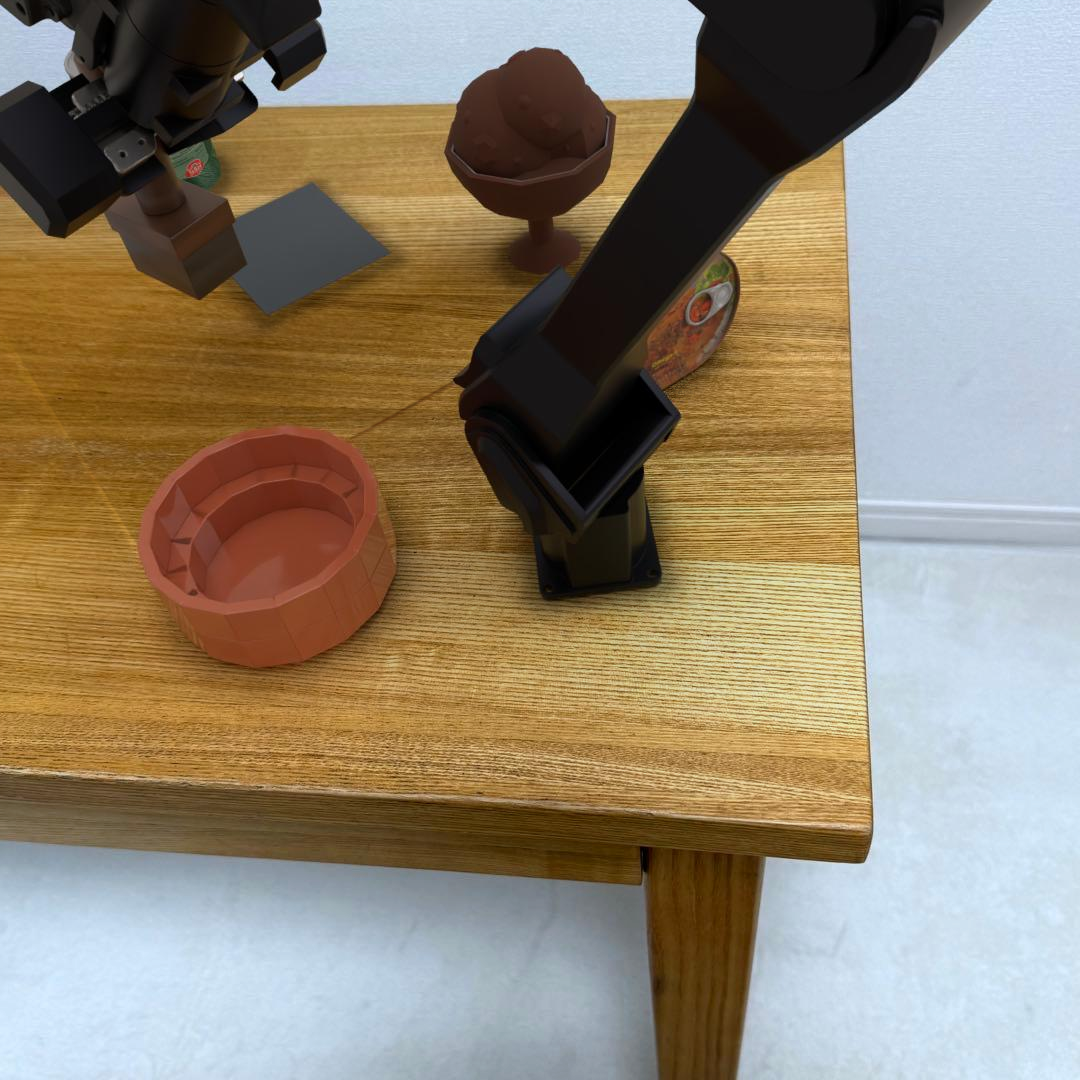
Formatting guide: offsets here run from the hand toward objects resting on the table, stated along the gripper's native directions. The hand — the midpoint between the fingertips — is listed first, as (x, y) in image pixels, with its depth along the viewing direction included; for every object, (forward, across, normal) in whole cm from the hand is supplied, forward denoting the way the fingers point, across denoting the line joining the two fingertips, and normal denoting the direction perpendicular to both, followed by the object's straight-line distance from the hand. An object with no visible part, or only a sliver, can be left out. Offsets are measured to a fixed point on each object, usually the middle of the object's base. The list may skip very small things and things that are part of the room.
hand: (134, 163), depth 61 cm
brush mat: (+12, -10, +8) cm, 18 cm away
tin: (-8, -12, +28) cm, 32 cm away
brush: (+4, 0, +6) cm, 7 cm away
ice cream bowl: (+1, -19, +20) cm, 27 cm away
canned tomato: (+23, -12, -3) cm, 26 cm away
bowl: (-3, +11, +23) cm, 25 cm away
